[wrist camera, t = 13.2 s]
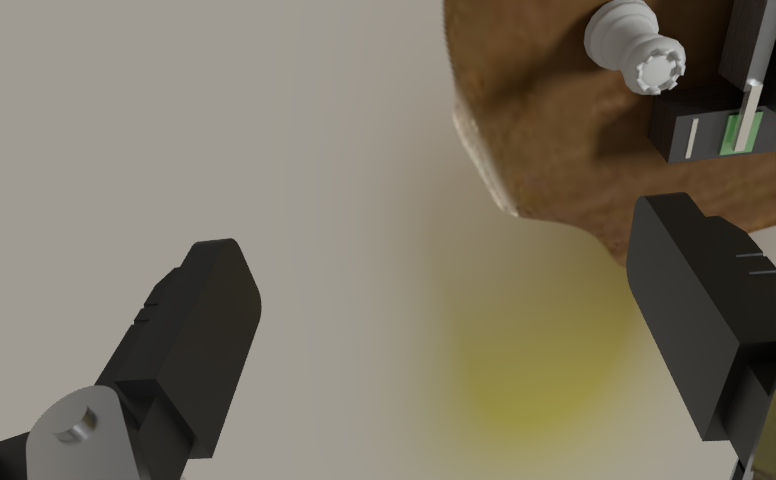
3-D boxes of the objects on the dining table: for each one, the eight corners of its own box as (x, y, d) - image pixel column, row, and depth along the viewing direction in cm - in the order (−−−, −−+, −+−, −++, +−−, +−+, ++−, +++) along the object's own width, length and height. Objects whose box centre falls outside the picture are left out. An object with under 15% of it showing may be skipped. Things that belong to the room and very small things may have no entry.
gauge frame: (679, -66, 30) (727, -51, 26) (832, -92, 29) (912, -81, 24) (647, 137, 38) (679, 177, 34) (766, 123, 37) (816, 163, 32)
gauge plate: (744, -44, 30) (781, -33, 27) (763, -47, 30) (801, -36, 27) (705, 127, 36) (730, 152, 33) (720, 125, 36) (747, 150, 33)
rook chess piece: (662, 35, 34) (717, 78, 28) (600, 77, 36) (637, 126, 30) (634, -21, 32) (686, 11, 26) (569, 26, 34) (603, 67, 28)
